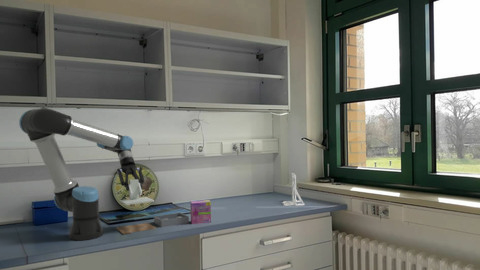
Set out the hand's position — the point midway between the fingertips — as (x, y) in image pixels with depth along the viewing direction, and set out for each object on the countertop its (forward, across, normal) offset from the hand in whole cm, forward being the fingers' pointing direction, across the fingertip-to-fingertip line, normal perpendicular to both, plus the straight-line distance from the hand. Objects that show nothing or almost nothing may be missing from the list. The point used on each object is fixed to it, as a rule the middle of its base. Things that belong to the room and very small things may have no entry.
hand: (136, 194), depth 196 cm
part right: (+14, -22, -10) cm, 28 cm away
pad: (+13, +1, -12) cm, 18 cm away
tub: (+13, -18, -12) cm, 26 cm away
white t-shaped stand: (+3, 0, -2) cm, 4 cm away
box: (+19, -32, -6) cm, 38 cm away
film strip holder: (+11, -106, -15) cm, 108 cm away
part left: (+14, -14, -10) cm, 23 cm away
